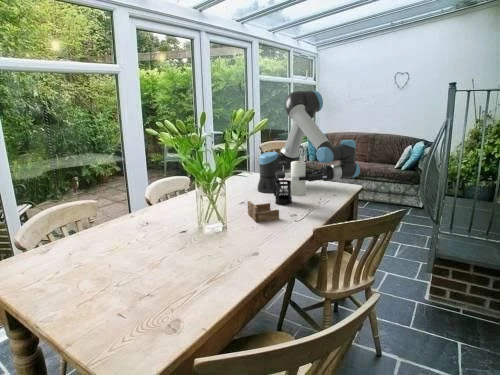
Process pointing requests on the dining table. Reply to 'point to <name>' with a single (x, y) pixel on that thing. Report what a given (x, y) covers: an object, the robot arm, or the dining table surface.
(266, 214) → the holder
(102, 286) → the dining table surface
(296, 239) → the dining table surface
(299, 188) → the roll
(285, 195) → the french press
